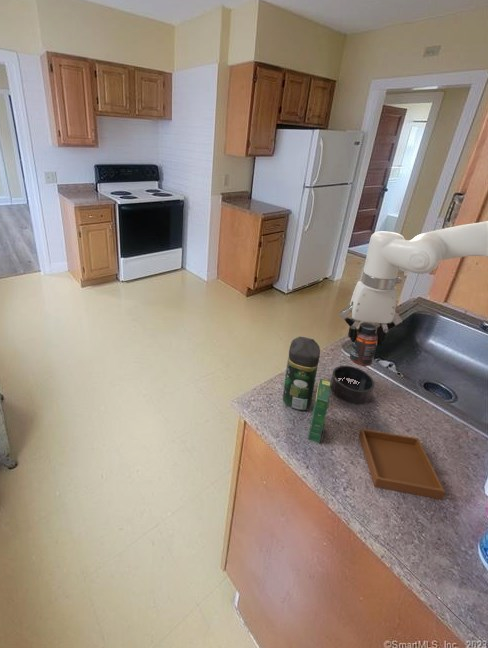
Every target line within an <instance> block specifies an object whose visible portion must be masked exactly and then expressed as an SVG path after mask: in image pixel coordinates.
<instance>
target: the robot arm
mask: <svg viewBox="0 0 488 648" xmlns="http://www.w3.org/2000/svg"><path fill="white" fill-rule="evenodd" d="M366 252H367V253H366V258H365V261H364V266H363V267H364V268H363V273H362V277H361V280H358V281H357V282H356V285H355V287H354V290H353V293H352V296H351V299H350V302H349V305H348V306H347V307H345V308H343V309H342V310H340V311H339V313H338V314H339V316H340V317H341V318H342V319H343V320H344V321H345V323H346V324H347V325H348V326H349V328H348V332H347V336H348V338H349V339H350V341H351V343H352V342H355V339H356V335H357V329H358V328H357V327H358V326H359V325H360V323H361V322H368V323H376V324H377V323H378V324H379V326H377V327H376V332H375V333H376V334H377V335H378V341H377V345H378V346H382V343H383V342H384V341H385V337H386V334H387V333H388V332H389V330H391V329H393V328H395V327H396V326H397V325H399V324H401V323H403V319H402V317H401V316H400V315H399V313H397V311H396V308H397V297H398V296H397V295H398V294H397V293H398V291H397V284H402V283H403V278H402V277H399V276H398V273H399V270H400V269H402V270H404V271H407V272H410V273H414V274H419V275H420V274H421V275H422V274H423V275H424V274H428V273H431V272H433V271H434V270H436V269H437V267H438V266H439V265H440V262H441V261H445V260H451V259H456V258H458V259H459V258H464V257H466V258H467V257H486V258H488V220H485V221H479V222H473V223H467V224H461V225H460V224H459V225H456V226H455V225H454V226H451V227H445V228H439V229H435V230H431V231H427V232H424V233H423V232H422V233H420V234H417V235H416V236H414V237H413V238H412V239H409V240H408V239H406V238H405V237H404V236H403V235H402V234H400V233H397V232H393V231H383V230H382V231H375V232H374V233H372V234H371V236H370V239H369V243H368V247H367V251H366ZM349 314H351V318H350V316H349Z"/></svg>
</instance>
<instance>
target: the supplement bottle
mask: <svg viewBox="0 0 488 648" xmlns="http://www.w3.org/2000/svg"><path fill="white" fill-rule="evenodd" d="M358 326H359V327H358V328H356V329H357V335H356V339H355V342H352V341H351V346H350V352H349V359H350V360H351V362H353V363H354V364H355V365H358V366H361V367H369V366H372V364H373V362H374V358H375V353H376V350H377V345H378V344H377V341H378V335H377V334H376V332H377V326H376V325H375V324H374V323H372V322H365V321H361V322H360V323H359V325H358Z"/></svg>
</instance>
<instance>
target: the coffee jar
mask: <svg viewBox="0 0 488 648" xmlns="http://www.w3.org/2000/svg"><path fill="white" fill-rule="evenodd" d="M320 358H321V347H320V345H319V343H317V341H315V339H313V338H310V337H306V336H298V337H296V338H295V337H294V338H293V339H292V340H291V342H290V346H289V350H288V356H287V362H286V369H285V378H284V384H283V385H284V386H283V391H282V392H283V393H282V401H283V403H284V404H285V405H286V406H287V407H289V408H291V409H294V410H297V411H307V410H309V409H310V407H311V404H312V400H313V394H314V388H315V383H316V378H317V371H318V368H319V367H318V366H319V362H320Z"/></svg>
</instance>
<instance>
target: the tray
mask: <svg viewBox="0 0 488 648" xmlns="http://www.w3.org/2000/svg"><path fill="white" fill-rule="evenodd" d="M358 437H359V441H360V443H361V448H362V450H363V454H364V458H365V460H366V464H367V468H368V470H369V474H370V477H371V480H372V484H373V487H374V488H379V489H385V490H389V491H394V492H400V493H403V494H404V493H405V494H410V495H414V496H415V495H416V496H420V497H424V498H431V499H436V500H440V501H441V500H443V498H444V495H445V493H446V491H445V489H444V486H443V485H442V483H441V481H440V479H439V476H438V475H437V473H436V471H435V469H434V467H433V464H432V462H431V461H430V459H429V457H428V454H427V453H426V451H425V448H424V447H423V445H422V443H421V440H420V438H419V437H415V436H408V435H402V434H397V433H390V432H385V431H378V430H373V429H366V428H360V430H359V434H358Z"/></svg>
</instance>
